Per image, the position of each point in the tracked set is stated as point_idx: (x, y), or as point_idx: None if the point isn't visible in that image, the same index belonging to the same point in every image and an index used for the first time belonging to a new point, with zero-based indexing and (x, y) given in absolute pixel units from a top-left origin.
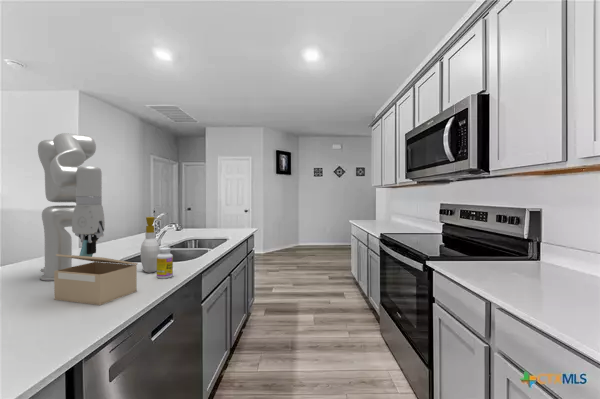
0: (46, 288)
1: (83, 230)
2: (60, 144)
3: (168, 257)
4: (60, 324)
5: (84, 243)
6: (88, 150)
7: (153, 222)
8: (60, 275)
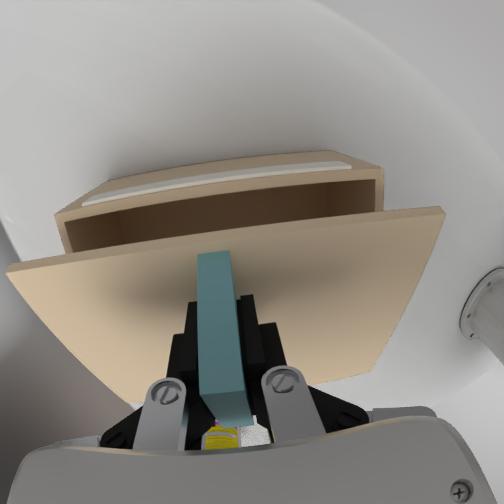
0: (453, 227)
1: (177, 500)
2: None
3: None
4: (63, 34)
5: (214, 356)
6: None
7: None
8: (329, 164)
